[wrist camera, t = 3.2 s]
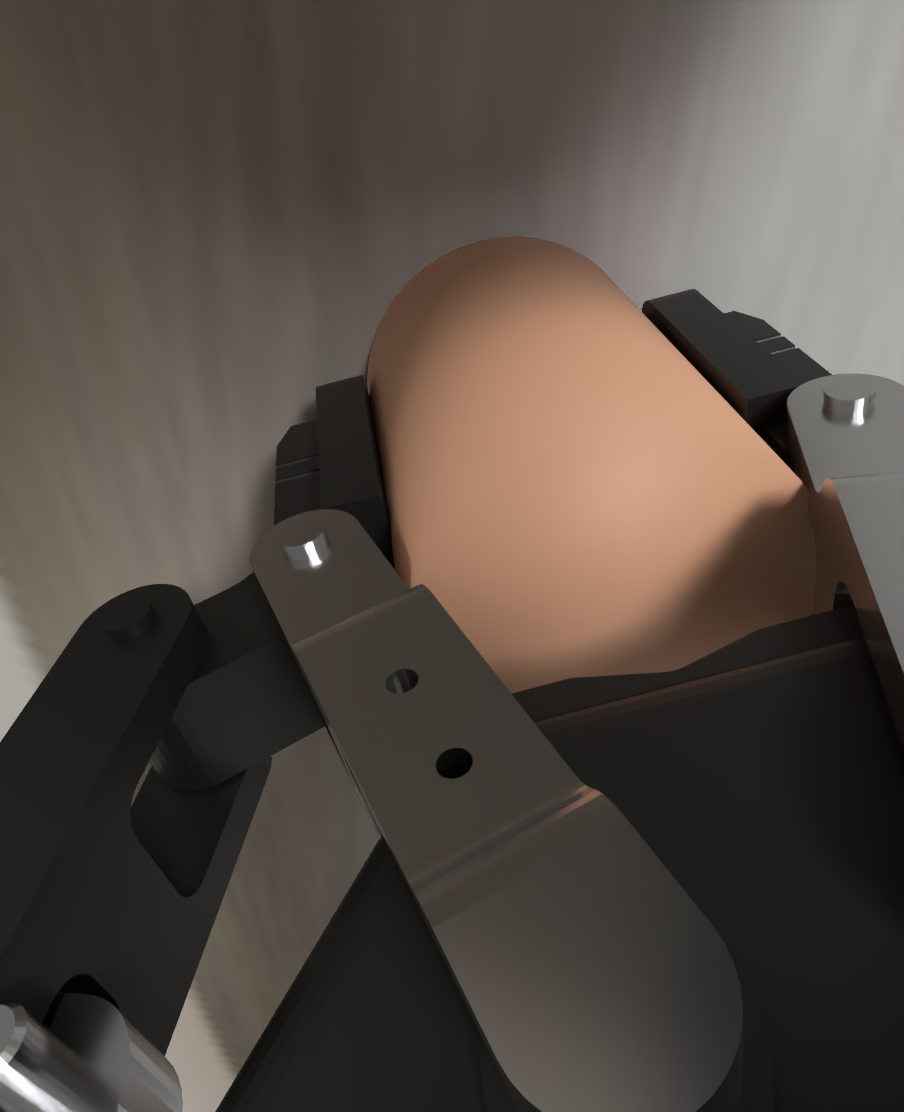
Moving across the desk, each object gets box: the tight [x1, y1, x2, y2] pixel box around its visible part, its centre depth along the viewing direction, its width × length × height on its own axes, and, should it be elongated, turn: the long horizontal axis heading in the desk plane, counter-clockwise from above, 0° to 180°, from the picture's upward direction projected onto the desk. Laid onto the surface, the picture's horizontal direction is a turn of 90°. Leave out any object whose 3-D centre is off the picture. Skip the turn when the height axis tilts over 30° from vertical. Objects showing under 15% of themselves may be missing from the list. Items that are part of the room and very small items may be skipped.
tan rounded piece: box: [367, 237, 816, 694], centre depth 11 cm, size 4×4×6 cm
